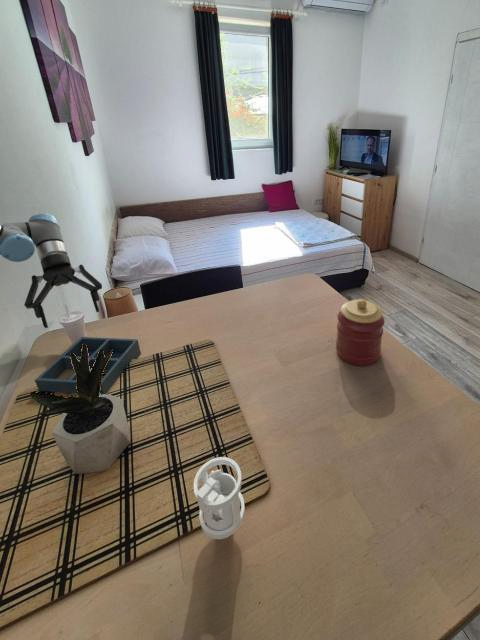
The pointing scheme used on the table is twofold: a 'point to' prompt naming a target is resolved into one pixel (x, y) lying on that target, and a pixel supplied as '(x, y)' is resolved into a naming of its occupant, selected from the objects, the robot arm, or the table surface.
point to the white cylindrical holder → (219, 499)
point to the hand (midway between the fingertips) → (72, 318)
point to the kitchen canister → (359, 332)
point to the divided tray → (90, 363)
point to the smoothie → (73, 325)
